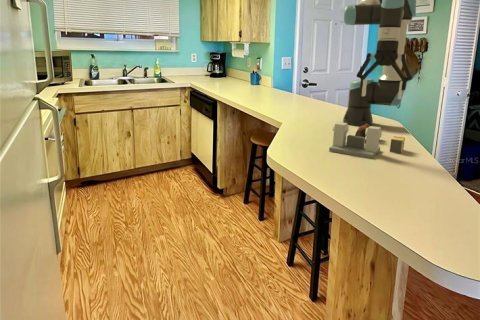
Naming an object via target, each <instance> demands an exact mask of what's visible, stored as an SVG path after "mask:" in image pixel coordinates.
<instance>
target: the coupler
mask: <svg viewBox="0 0 480 320" xmlns="http://www.w3.org/2000/svg"><path fill="white" fill-rule="evenodd" d="M405 141H406V138H405V137H402V136H395V135H394V136H393V138H391V139H390V145H389V146H390V147H389V153H394V152H395V153H396V154H401V153H402V152H403V151H404V147H405ZM395 153H394V154H395Z"/></svg>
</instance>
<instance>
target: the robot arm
mask: <svg viewBox="0 0 480 320" xmlns="http://www.w3.org/2000/svg"><path fill="white" fill-rule="evenodd" d="M416 7H417V0H360V1H359V3H358V4H350V5H346V6H345V8H344V12H343V22H344V25H346V26H358V25H359V26H363V25H374V26H376V25H377V26H378V25H379V26H378V32H377V33H378V35H377V39H378V40H377V41H376V42H377V43H376V49H375V50H376V51H375V53H371V52H369V53H367V55H366V58H365V60H364V62H363V64H362V65H361V67H360V69H359V70H358V72H357V74H356V77H357V79H354V80H352V81H350V85H349V89H348V102H347V103H348V104H347V110H346V111H345V114H344V116H343V120H342V123H348V124H347V126H349V125H350V126H355V127H358V126H359V127H361V126H363V125H365V124H366V123H367V124H369V125H370V126H373V122H374V121H373V120H374V119H373V115H372V112H371V111H372V110H371V109H372V105H375V106H376V105H377V106H389V107H399V106H400V105H401V103H402V100H403V95H404V92H405V91H406V89H407V84H408V81H409V82H410V81H411V80H413V79H414V78H413V74H412V71H411V69H410V66H409V63H408V60H407V54H406V53H405V47H406V37H407V31H408V25H409V24H410V23H411V22H412V20H413V18H414V17H416V16H417V15H416V14H417V9H416ZM373 58H374V59H375V62H373V63H372V65H371V66H370V67H369V68H368V69H367V70H366V68H367V67H368V66H369V64H370V62H371V60H372V59H373ZM378 66H382V72H381V73H382V75H381V76H379V77H378V80H377V81H375V79H374V78H367V77H368V76H369V75H370V74H371V73H372V72H373V71H374V70H375V69H376V68H377V67H378ZM402 68H403V70H404V72H405V74H406V75H405V74H404V72H403V70H402ZM358 78H359V79H358Z"/></svg>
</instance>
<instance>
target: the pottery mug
mask: <svg viewBox="0 0 480 320" xmlns="http://www.w3.org/2000/svg"><path fill="white" fill-rule="evenodd" d="M370 126H371V125H369V124H367V123H366V124H365V125H363V126H359V127H358V128H357V130H356V131H355V134H354V136H360V137H365V138H367V136H366V135H365V132H366V129H367V128H368V127H370Z"/></svg>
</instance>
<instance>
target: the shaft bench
mask: <svg viewBox="0 0 480 320" xmlns="http://www.w3.org/2000/svg"><path fill="white" fill-rule="evenodd" d="M332 131H333V138H332V145H331V146H330V147H329V150H328V151H329V152H331V153H338V154H342V155H343V154H344V155H349V156H355V157H361V158H368V159H372V158H375V157H376V155H378V154H379V153H380V152H381V146H380V138H382V135H383V129H382V128H381V126H373V125H370V127H368V128H367V129H366V132H365V135H366V137H360V136H355V135H354V134H353V135H352V134H351V135H350V134H348V132H349V125H348V123H343V122H340V121H337V122H336V123H334V124H333V126H332ZM347 134H348V135H347ZM365 140H366V141H365ZM379 146H380V147H379Z"/></svg>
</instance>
